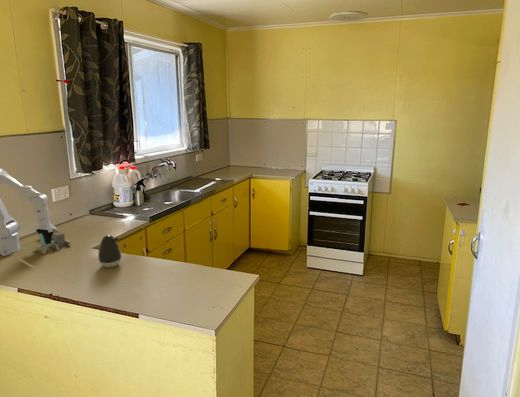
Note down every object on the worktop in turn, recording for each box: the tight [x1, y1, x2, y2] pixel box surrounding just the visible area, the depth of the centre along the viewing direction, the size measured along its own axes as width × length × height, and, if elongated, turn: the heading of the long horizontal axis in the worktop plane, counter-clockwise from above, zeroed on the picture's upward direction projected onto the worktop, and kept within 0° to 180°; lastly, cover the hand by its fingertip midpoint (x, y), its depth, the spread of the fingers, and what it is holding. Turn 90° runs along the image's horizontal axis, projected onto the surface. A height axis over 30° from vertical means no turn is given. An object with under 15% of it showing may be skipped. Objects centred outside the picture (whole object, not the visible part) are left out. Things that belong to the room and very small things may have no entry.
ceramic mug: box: [51, 224, 60, 240], centre depth 222 cm, size 11×8×8 cm
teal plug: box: [38, 233, 53, 248], centre depth 202 cm, size 4×4×7 cm
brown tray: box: [35, 238, 72, 255], centre depth 206 cm, size 14×9×3 cm, turn 142°
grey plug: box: [53, 231, 66, 248], centre depth 207 cm, size 4×4×7 cm
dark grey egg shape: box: [98, 234, 122, 268], centre depth 184 cm, size 10×10×15 cm
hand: (46, 242), depth 202 cm, fingers closed on teal plug, 4 cm apart
